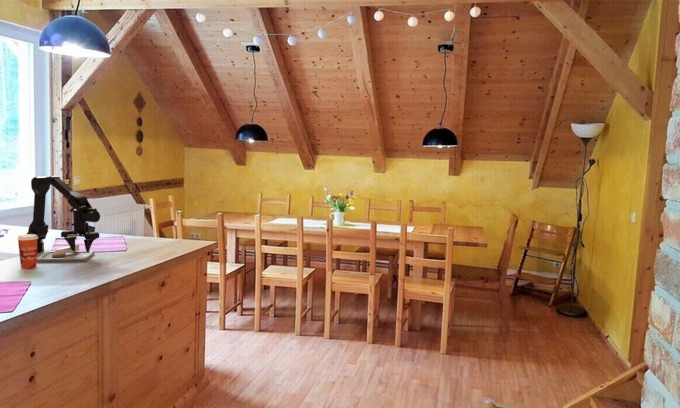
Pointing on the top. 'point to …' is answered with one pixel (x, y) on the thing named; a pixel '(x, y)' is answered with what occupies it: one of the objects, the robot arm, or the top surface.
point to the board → (66, 257)
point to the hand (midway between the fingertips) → (80, 251)
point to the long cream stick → (64, 251)
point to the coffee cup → (28, 250)
